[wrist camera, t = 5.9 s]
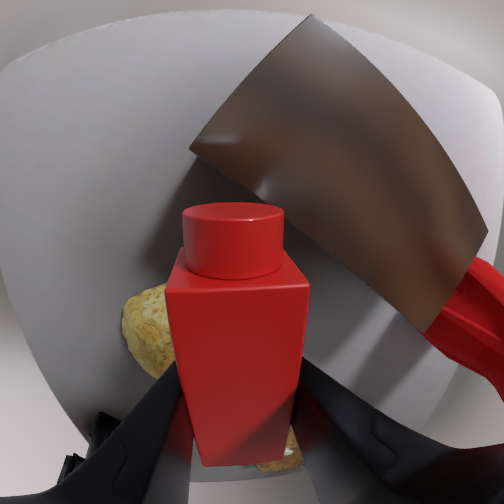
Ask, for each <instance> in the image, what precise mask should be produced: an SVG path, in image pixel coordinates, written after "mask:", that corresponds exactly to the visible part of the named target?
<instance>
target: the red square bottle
mask: <svg viewBox="0 0 504 504" xmlns="http://www.w3.org/2000/svg"><path fill="white" fill-rule="evenodd" d="M182 222H183V239H184V246H183V247H181V248H180V250H179V253H178V255H177V258H176V261H175V263H174V266H173V269H172V271H171V274H170V277H169V279H168V282H167V285H166V288H165V291H164V297H165V304H166V311H167V317H168V323H169V329H170V335H171V340H172V346H173V351H174V356H175V361H176V366H177V371H178V375H179V380H180V384H181V389H182V391H183V394H184V398H185V403H186V407H187V411H188V415H189V418H190V422H191V426H192V429H193V433H194V439H195V442H196V445H197V449H198V452H199V455H200V458H201V461H202V464H203V466H205V467H210V466H235V465H248V464H258V463H267V462H274V461H281V460H283V458H284V453H285V449H286V444H287V439H288V434H289V429H290V424H291V419H292V414H293V408H294V403H295V397H296V391H297V385H298V379H299V373H300V366H301V360H302V353H303V346H304V338H305V330H306V322H307V314H308V305H309V296H310V287H311V286H310V283H309V281H308V280H307V279H306V278H305V276H304V275H303V274H302V272H301V271H300V270H299V268H298V267H297V266H296V265H295V263H294V262H293V261H292V259H291V258H290V257H289V256H288V254H287V253H286V252H285V250H284V249H283V232H284V211H283V209H281V208H279V207H277V206H273V205H268V204H261V203H248V202H224V203H210V204H203V205H197V206H193V207H190V208H187V209H185V210H184V211H183V213H182Z"/></svg>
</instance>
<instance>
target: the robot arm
mask: <svg viewBox="0 0 504 504" xmlns="http://www.w3.org/2000/svg"><path fill="white" fill-rule="evenodd" d="M291 426H292V429H293V432H294V435H295V438H296V440H297V443H298V446H299V449H300V451H301V454H302V457H303V460H304V462H305V465H306V468H307V470H308V473H309V476H310V479H311V481H312V484H313V486H314V489H315V492H316V494H317V497H318V500H319V502H320V504H504V443H503V444H497V445H491V446H485V447H478V448H471V449H459V448H453V447H449V446H446V445H444V444H441V443H439V442H437V441H435V440H432V439H430V438H428V437H426V436H424V435H421V434H419V433H417V432H415V431H413V430H411V429H409V428H407V427H405V426H403V425H401V424H400V423H398V422H396V421H394V420H393V419H391V418H390V417H388V416H386V415H385V414H383V413H382V412H380V411H379V410H377V409H374V407H373V406H371V405H370V404H368V403H367V402H365V401H364V400H362V399H361V398H359V397H358V396H357V395H355V394H354V393H352V392H351V391H349V390H348V389H347V388H345V387H344V386H342V385H341V384H339V383H338V382H337V381H335V380H334V379H333V378H331V377H330V376H328V375H327V374H326V373H324V372H323V371H322V370H320V369H319V368H317V367H316V366H315V365H313V364H312V363H311V362H309V361H308V360H307V359H305V358H304V357H303V356H302V360H301V366H300V373H299V379H298V385H297V391H296V397H295V403H294V408H293V414H292V419H291ZM87 435H88V436H90V437H91V441H90V444H89V448H88V451H87V455H86V458H85V459H84V458H82V457H80V456H78V455H77V454H75V453H74V454H73V456H68V455H66V458H65V462H64V465H63V468H62V470H61V473H60V476H59V479H58V481H57V485H55V486H54V487H52V488H51V489H49V490H47V491H44V492H41V493H38V494H31V495H23V496H10V497H0V504H188V494H189V481H190V469H191V457H192V446H193V436H194V433H193V429H192V426H191V422H190V418H189V415H188V411H187V407H186V403H185V398H184V394H183V391H182V389H181V384H180V380H179V375H178V371H177V366H176V361H175V360H174V361H173V362H172V363H171V365H170V366H169V367H168V368H167V369H166V371H165V372H164V373H163V374H162V375H161V377H160V378H159V379H158V380H157V381H156V382H155V384H154V385H153V386H152V387H151V388H150V389H149V391H148V392H147V393H146V394H145V395H144V397H143V398H142V399H141V400H140V401H139V402H138V404H137V405H136V406H135V407H134V408H133V409H132V411H131V412H130V413H129V414H128V415H127V416H126V418H125V419H124V420H123V421H122V422H120V421H118V420H116V419H114V418H112V417H110V416H108V415H106V414H104V413H102V412H98V414H97V416H96V417H95V419H94V421H93V423H92V424H91V426H90V428H89V430H88V432H87Z"/></svg>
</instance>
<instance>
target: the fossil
mask: <svg viewBox="0 0 504 504" xmlns="http://www.w3.org/2000/svg"><path fill="white" fill-rule="evenodd" d="M167 282H168V281H167ZM167 282H166V283H164V284H161V285H158V286H157V287H153V288H151V289H146V290H144V291H141V292H140V294H137V295H135V296H133V297H131V298H130V299H129V300H128V301H127V302H126V304H125V305H124V307H123V318H122V335H123V336H124V337H125V338H126V339H127V342H128V349H129V350H130V351H131V354H132V355H133V357H134V358H135V359H136V360H137V362H138V363H139V364H140V366H141V367H142V368H143V369H144V370H145V371H146V372H147V373H148V374H150V375H151V376H152V377H154V378H156V379H159V378H160V377H161V375H162V374H163V373H164V372H165V371H166V369H167V368H168V367H169V366H170V365H171V363H172V362H173V361H174V360H175V356H174V351H173V346H172V340H171V335H170V329H169V323H168V317H167V311H166V304H165V297H164V291H165V288H166V285H167Z"/></svg>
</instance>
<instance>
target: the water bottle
mask: <svg viewBox="0 0 504 504" xmlns="http://www.w3.org/2000/svg"><path fill="white" fill-rule="evenodd" d="M416 329H417V328H416ZM417 330H418V329H417ZM418 331H419V332H420V333H421V334H422V335H423V336H424V337H425V338H426V339H427V340H428V341H429V342H430V343H431V344H432V345H434V346H435V347H436V348H437V349H438V350H439V351H441V352H442V353H443V354H444V355H445V356H446V357H448V358H449V359H451V360H453V361H455V362H457V363H459V364H461V365H463V366H465V367H466V368H468V369H470V370H472V371H474V372H476V373H478V374H480V375H482V376H484V377H485V378H486V379H487V380H488V381H490V383H491V384H492V385H493V386H494V387H495V388H496V390H497V392H498V393H499V395H500V397H501V399H502V400H503V402H504V276H502V275H501V274H500V273H499V272H498V271H497V270H496V269H495V268H494V267H493V266H492V265H491V264H489V263H488V262H486V261H484V260H482V259H480V258H478V257H476V256H475V258H474V260H473V262H472V263H471V265H470V267H469V268H468V270H467V272H466V273H465V275H464V277H463V278H462V280H461V282H460V283H459V285H458V286H457V288H456V289H455V291H454V292H453V294H452V295H451V297H450V298H449V300H448V301H447V303H446V304H445V306H444V307H443V308H442V310H441V311H440V313H439V314H438V315H437V317H436V318H435V319H434V321H433V322H432V323H431V325H430V326H429V327H428V329H427V330H426V331H425V332H424V333H422V332H421V331H420V330H418Z"/></svg>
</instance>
